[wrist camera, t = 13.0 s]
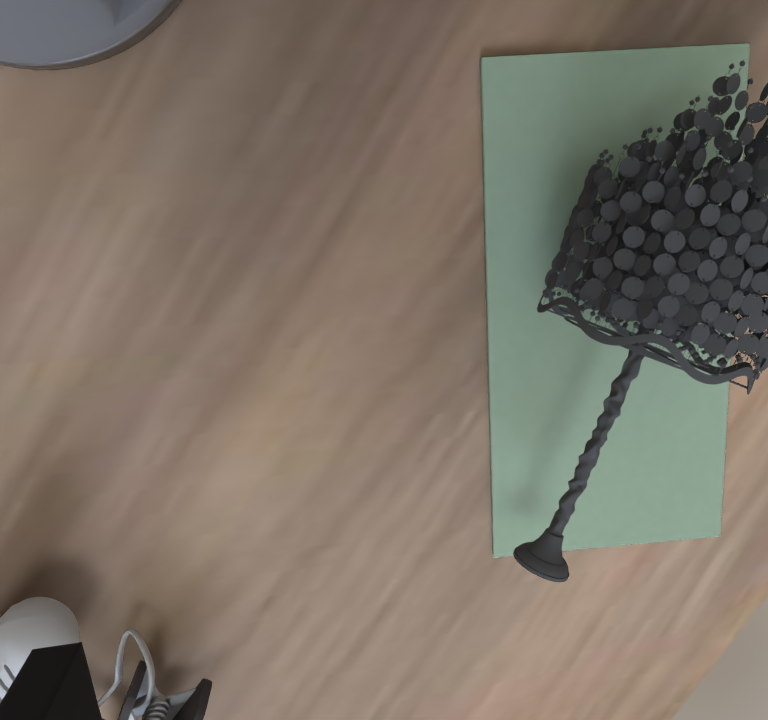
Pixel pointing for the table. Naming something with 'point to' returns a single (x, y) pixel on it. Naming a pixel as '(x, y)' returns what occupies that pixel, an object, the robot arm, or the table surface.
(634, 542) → the desk mat
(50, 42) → the robot arm
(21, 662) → the clip-on lamp
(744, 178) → the dark grey tree model
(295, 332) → the table surface
